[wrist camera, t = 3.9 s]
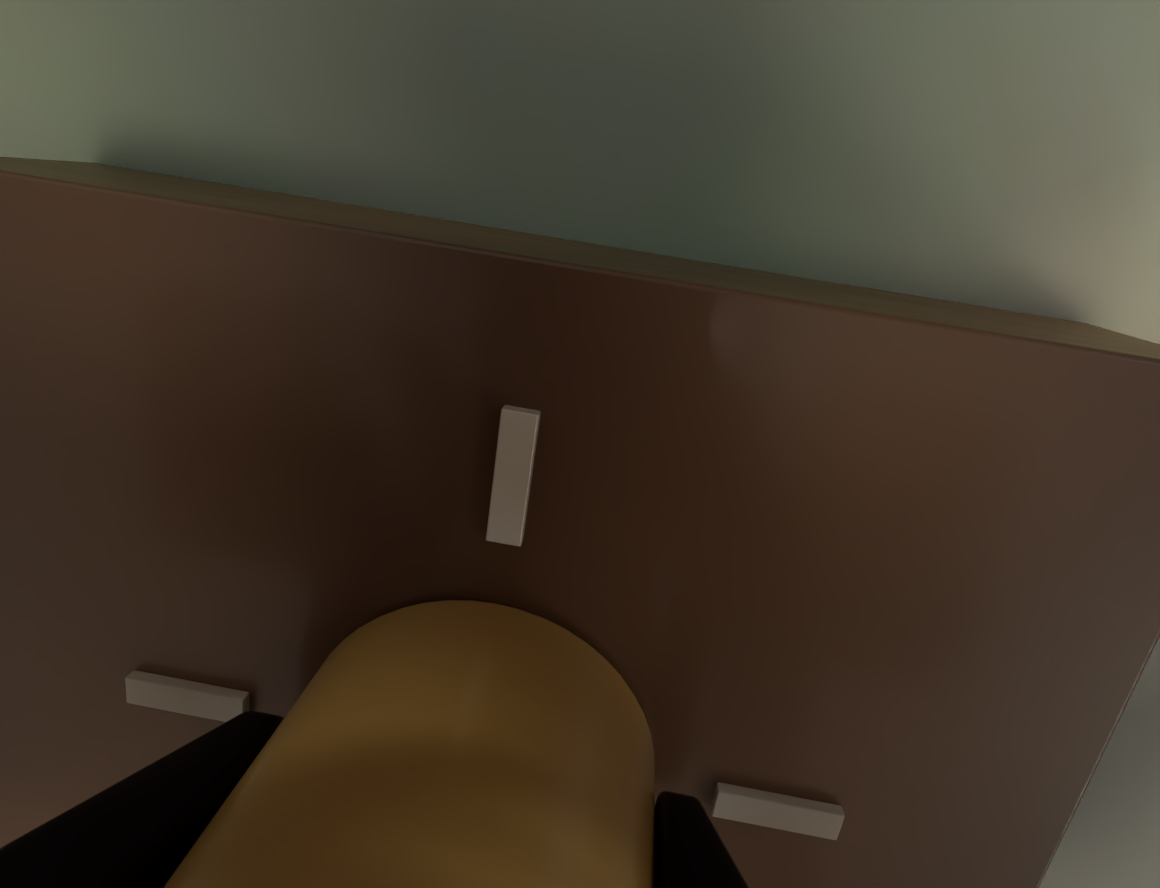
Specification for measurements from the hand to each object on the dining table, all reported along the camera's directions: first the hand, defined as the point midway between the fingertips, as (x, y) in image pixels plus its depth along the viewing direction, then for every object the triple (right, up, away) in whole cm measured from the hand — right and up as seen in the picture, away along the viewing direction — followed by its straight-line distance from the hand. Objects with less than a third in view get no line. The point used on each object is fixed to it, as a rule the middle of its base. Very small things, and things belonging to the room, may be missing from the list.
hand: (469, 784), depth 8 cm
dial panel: (0, +1, +3) cm, 4 cm away
